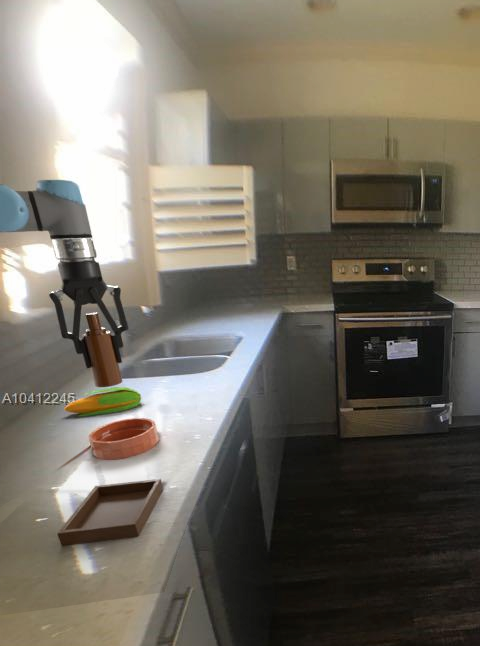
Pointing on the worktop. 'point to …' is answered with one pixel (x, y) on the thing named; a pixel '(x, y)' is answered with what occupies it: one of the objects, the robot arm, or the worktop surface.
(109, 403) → the corn
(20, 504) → the worktop surface
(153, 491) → the tray
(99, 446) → the bowl
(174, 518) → the worktop surface
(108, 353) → the bottle
